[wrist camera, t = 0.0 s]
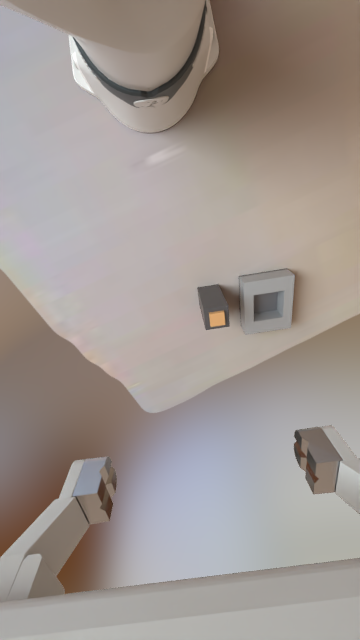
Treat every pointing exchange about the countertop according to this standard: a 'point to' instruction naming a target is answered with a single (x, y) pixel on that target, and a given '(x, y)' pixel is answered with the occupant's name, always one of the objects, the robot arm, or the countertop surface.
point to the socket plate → (266, 301)
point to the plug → (213, 307)
